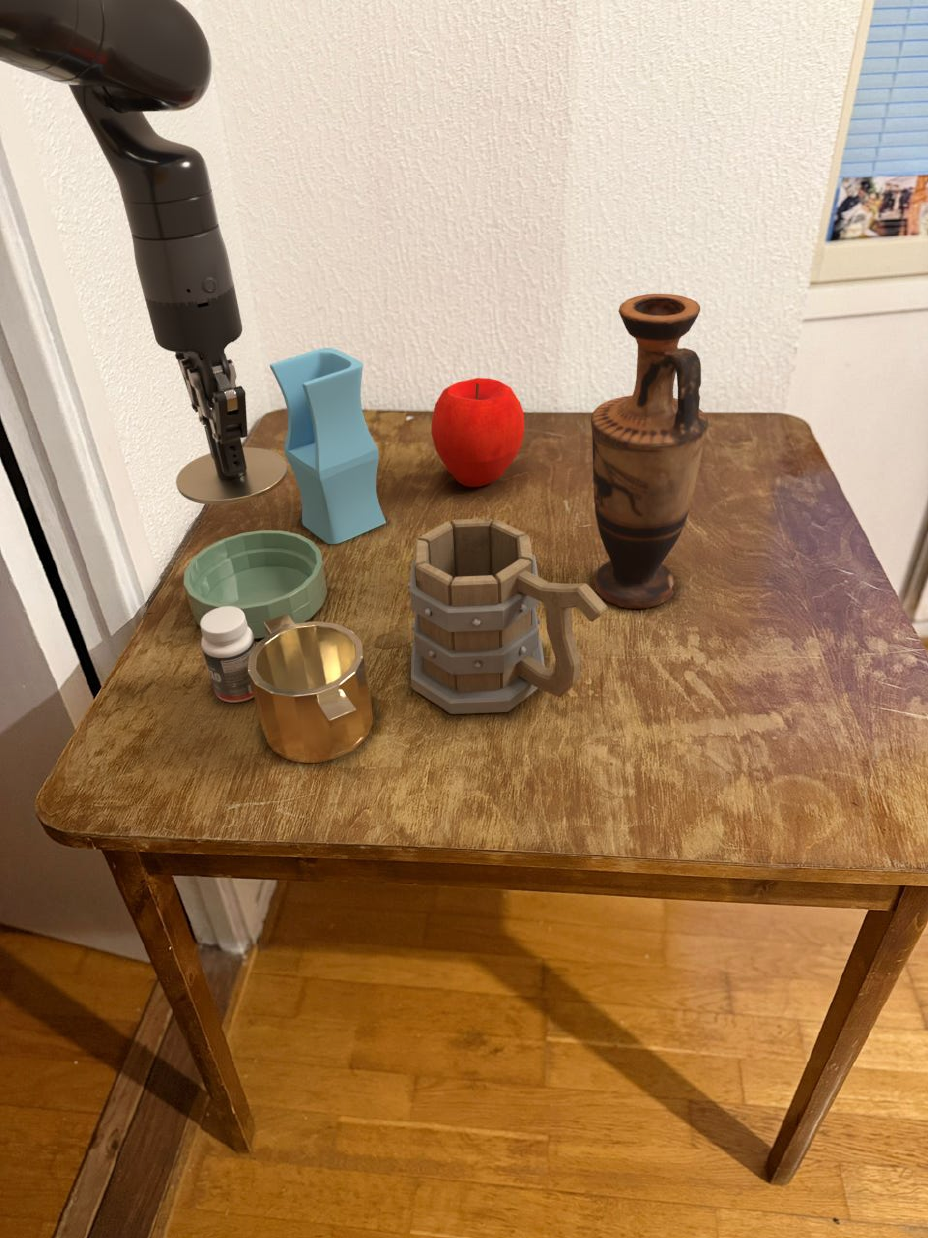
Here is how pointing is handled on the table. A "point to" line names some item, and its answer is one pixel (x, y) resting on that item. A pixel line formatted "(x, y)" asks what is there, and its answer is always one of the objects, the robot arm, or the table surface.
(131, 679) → the table surface
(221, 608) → the pill bottle
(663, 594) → the vase
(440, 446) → the apple
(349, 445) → the vase
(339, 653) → the pot
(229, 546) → the bowl
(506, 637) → the tankard
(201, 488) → the pot lid
